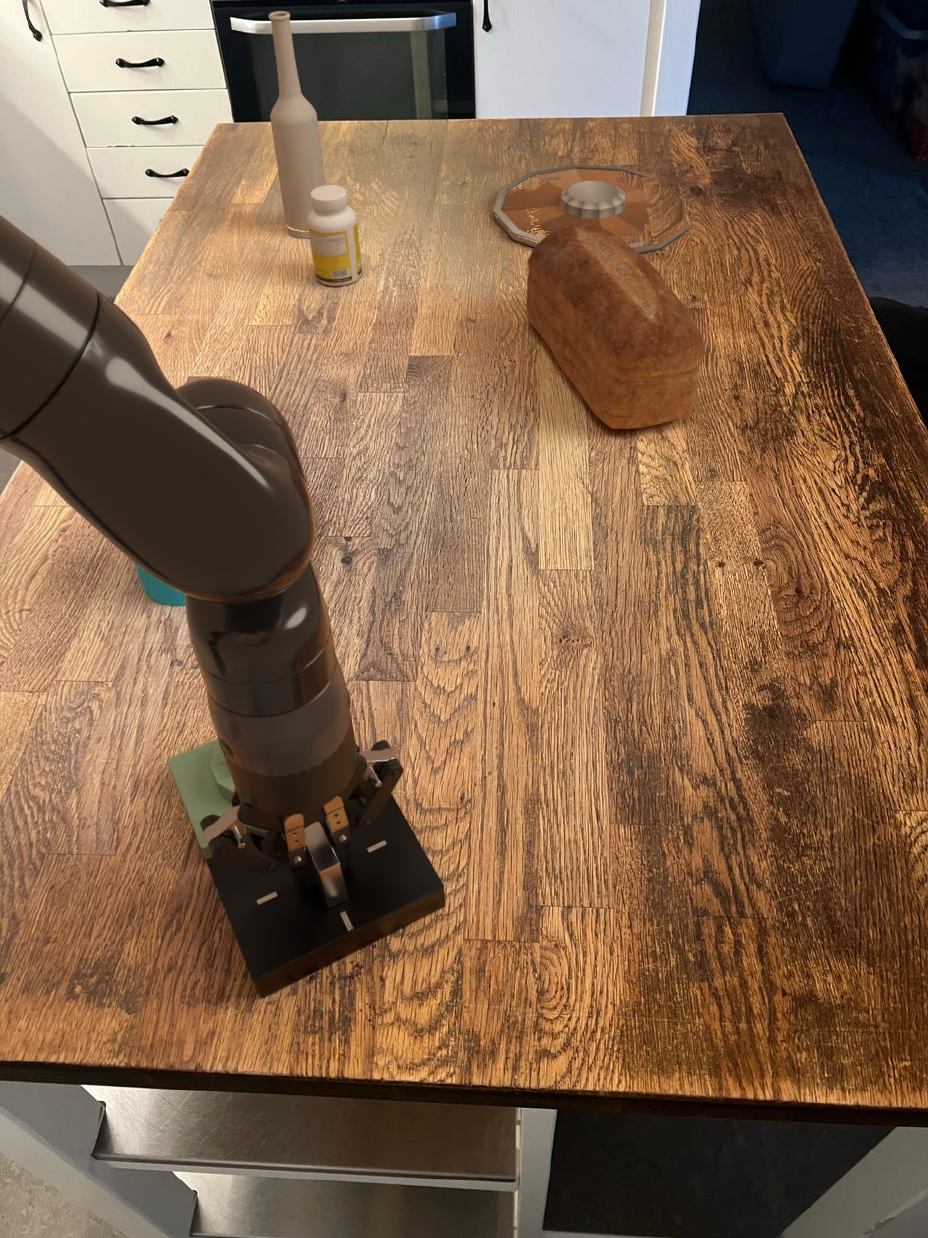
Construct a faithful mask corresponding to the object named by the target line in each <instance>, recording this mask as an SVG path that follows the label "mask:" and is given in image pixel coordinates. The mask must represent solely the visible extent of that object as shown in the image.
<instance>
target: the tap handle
mask: <svg viewBox="0 0 928 1238" xmlns="http://www.w3.org/2000/svg"><path fill="white" fill-rule="evenodd" d="M304 830H305V837H306V843H307V846H305V848H306V850H307V852H308V854H309V856H310V858H311V861H312V865H313V868H314V872H315V876H316V880H317V883H318V884H317V886H318V888H319V890H320V892H321V894H322V896H323V899H324V901H325V903H326V905H327V907H328V908H331V907H333V906H335V905H338V904H340V903H342V902H344V901H346V900H348V896H347V891H346V887H345V882H344V878H343V873H342V869H341V864H340V862H339V860H338V858H337V856H336V854H335V852H334V850H333V848H332V846H331V844H330V841H329V839H328V837H327V835H326V833H325V831H324V829H323V827H322V825H321V823H320V821H319V822H316V823H313V824H311V825H310V826H308V827H307V828H305V829H304Z"/></svg>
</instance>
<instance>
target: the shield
mask: <svg viewBox="0 0 928 1238" xmlns="http://www.w3.org/2000/svg"><path fill="white" fill-rule="evenodd" d="M559 171H560V172H559ZM616 171H617V172H616ZM619 171H623V172H626V173H629V174H633V175H638V176H641V177H651V178H652V177H656V176H655V175H651V174H648V173H645V172H642V171H639V170H635V169H631V168H628V167H626V166H625V167H624V166H614V165H612V166H611V165H594V164H593V165H592V164H575V163H574V164H568V165H563V166H557V167H549V168H545V169H539V170H534V171H529V172H527V173H526V174H523V175H522V176H520V177H517V178H516V179H514V180H513V181H511V182H509V183H507V184H505V185H504V186H502V187H500V188H499V190H498V193H497V197H496V200H495V203H494V206H493V209H492V219H493V220H494V221H495V222H496V223H497V224H498V225H499V227H500V228H501V229H502V230H503V231H504V232H505V233H506V234H507V235H508V236H509V237H510V238H511V240H512V241H514V242H517V243H521V244H522V245H525V246H529V247H532V248H533V249H534V248H535V247H536V246H537V245H538V244H539V243H536V242H533V241H530V240H527V239H524V238H528V239H532V240H534V241H537V242H541V240H543V239H544V238H541V237H538V236H536V235H533V234H530V232H531V229H532V228H533V227H534V228H541V229H537V230H533V231H538V230H544V231H550V232H546V233H543V234H549V235H550V234H551V233H553V232H554V231H556V230H558V229H560V228H562V227H564V226H569V225H575V224H580V225H585V224H591V225H595V226H598V227H600V228H603V229H605V230H608V231H610V232H611V233H613V234H614V235H615V236H617V237H618V238H621V237H623V236H626V237H627V236H633V235H634V236H637V235H639V234H640V235H639V236H641V233H642V232H643V230H645V229H646V228H647V227H646V228H645V229H643V228H644V227H643V226H644V225H645V224H646V223H647V222H648V220H647V221H646V222H645V220H646V219H648V218H649V217H650V216H651V214H650V215H649V216H648V212H647V211H646V210H647V208H645V209H644V207H654V205H655V204H653V203H651V204H650V202H651V200H650V199H649V198H650V197H649V198H648V199H646V198H647V197H646V196H645V195H646V194H645V193H646V192H645V193H644V192H643V191H644V190H642V191H641V188H640V189H638V188H639V187H636V188H635V187H631V186H630V185H629V186H627V185H625V186H624V185H621V184H619V183H618V182H617V179H616V180H615V177H622V175H623V173H620V172H619ZM549 173H552V174H549ZM619 173H620V175H619ZM536 175H539V176H536ZM625 176H626V175H624V176H623V177H625ZM530 177H561V179H560V180H550V181H549V182H547V183H546V184H543V183H538V184H542V186H538V187H539V188H536V189H535V190H532V191H528V190H526V189H528V188H526V189H519V188H516V189H519V190H520V191H519V190H514V191H516V192H514V191H511V190H513V189H511V188H513V187H515V186H516V185H518V184H520V183H521V182H523V181H525V180H527V179H528V178H530ZM659 181H660V180H659ZM542 182H546V181H542ZM619 182H620V181H619ZM620 185H621V186H620ZM521 188H523V187H521ZM665 188H666V187H665ZM510 189H511V190H510ZM666 189H667V188H666ZM529 190H531V189H529ZM667 190H668V189H667ZM508 191H509V192H508ZM526 191H527V192H526ZM668 191H669V192H670V193H671V194H672V195H673V196H674V197H675V198H676V199H677V200H678V208H677V217H676V221H675V222H674V223H673V224H671V225H670V226H669V227H667V228H666V229H665V230H663V231H662V232H661V233H659V234H658V235H657V236H655V237H654V238H652V239H656V238H658V237H659V236H662V235H663V234H665V233H666V232H667V231H668V230H669V229H671V228H672V227H674V226H675V225H677V224H678V223H680V222H681V221H682V218H683V201H682V200H681V199H680V198H678V197H677V196H676V195H675V194H673V193H672V192H671V191H670V190H668ZM506 192H507V193H506ZM511 192H513V193H511ZM508 193H509V194H508ZM643 193H644V194H643ZM647 196H648V195H647ZM648 200H650V201H648ZM648 202H649V203H648ZM647 203H648V204H647ZM505 207H506V208H505ZM509 207H510V208H509ZM526 207H527V208H526ZM641 207H642V208H641ZM656 207H657V206H656ZM533 208H535V209H533ZM527 209H528V211H529V212H530V214H531V215H532V216H534V217H535V218H534V219H538V221H534V222H531V221H532V220H534V219H531V217H528V216H529V215H530V214H527V212H528V211H526V210H527ZM535 210H539V211H536V212H533V213H531V211H535ZM645 211H646V212H645ZM539 212H542V213H540V214H538V213H539ZM649 212H650V211H649ZM536 214H537V215H536ZM495 215H496V216H497V217H498V218H497V217H496V216H495ZM647 216H648V217H647ZM530 219H531V220H530ZM525 220H527V221H525ZM529 222H531V223H533V224H534V225H531V223H529ZM644 222H645V223H644ZM537 225H541V226H538V227H535V226H537ZM690 226H691V223H690V224H688V225H687V226H685V227H684V228H683V229H681V230H680V231H678V232H677V233H675V234H674V235H673V236H671V237H670V238H668V239H667V240H665V241H664V242H663V243H659V244H654V245H649V246H645V247H640V248H635V249H634V250H635V251H637V252H638V253H640V254H641V255H642V254H645V253H650V252H655V251H660V250H662V249H664V248H665V247H667V246H668V245H669V244H671V243H672V242H674V241H675V240H676V239H678V238H680V237H681V236H682V235H684V234H685V233H686V232H688V231H689V230H690ZM507 228H508V229H509V230H510V231H511V232H510V231H509V230H508V229H507ZM529 228H530V229H529ZM642 229H643V230H642ZM527 230H530V231H529V232H527ZM641 230H642V231H641ZM638 232H639V233H638ZM534 234H537V232H536V233H534ZM635 234H636V235H635ZM518 236H522V237H524V238H521V237H518ZM545 236H548V235H545ZM619 236H621V237H619ZM624 238H625V237H624ZM622 239H623V238H622ZM649 240H651V239H648V240H644V241H640V242H635V243H630V244H628V245H629V246H630V247H631V248H633V247H639V246H643V245H644V243H646V242H648V241H649ZM623 241H624V240H623ZM645 241H646V242H645ZM648 243H649V242H648ZM648 243H647V244H648ZM645 245H646V244H645Z"/></svg>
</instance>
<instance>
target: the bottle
mask: <svg viewBox="0 0 928 1238" xmlns="http://www.w3.org/2000/svg"><path fill="white" fill-rule="evenodd" d="M267 16H268V19H269V20H270V24H271V31H272V39H273V46H274V53H275V60H276V69H277V80H278V82H277V83H278V90H279V91H278V93H279V95H278V98H277V100H276V102H275V104H274V105H273V107H272V109H271V112H270V115H269V118H270V119H269V120H270V124H271V132H272V139H273V145H274V146H273V147H274V154H275V159H276V160H275V161H276V166H277V173H278V180H279V188H280V194H281V200H282V209H283V214H284V219H285V220H284V221H285V225H286V224H287V225H288V226H289V227H291V228H294V229H298V230H303V231H309V229H308V221H307V219H308V215H309V213H310V212H311V210H312V209H314V207H313V206H312V202H311V192H312V191H313V190H314V189H315V188H318V187H321V186H325V185H327V181H326V175H325V174H326V173H325V167H324V160H323V159H324V158H323V151H322V144H321V143H322V142H321V137H320V136H321V135H320V128H319V121H318V114H317V113H318V112H317V111H316V109H315V108H314V106H313V105H312V104H311V102H310V101H309V100H307V98H306V97H305V96H304V95H303V94H302V93H303V92H302V90H301V84H300V78H299V74H298V69H297V63H296V56H295V50H294V42H293V33H292V27H291V21H290V20H291V19H290V18H291V14H290V12H289V11H284V10H279V11H273V12H270V13H269V14H268V15H267ZM287 225H286V226H285V227H286V232H287V233H288V234H289V235H290V236H292V237H294V238H297V239H310V236H309V232H299V231H294V230H291V229H289V228H288V227H287Z"/></svg>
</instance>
